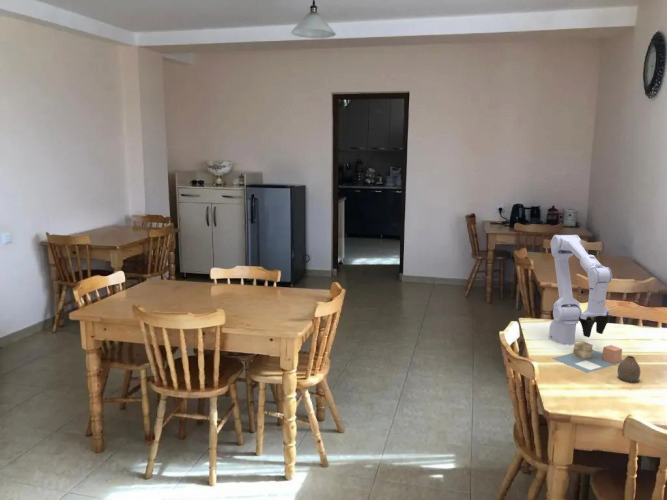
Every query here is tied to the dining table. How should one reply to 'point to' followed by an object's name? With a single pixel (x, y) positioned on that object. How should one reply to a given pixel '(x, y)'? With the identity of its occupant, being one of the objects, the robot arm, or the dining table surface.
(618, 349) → the terracotta block
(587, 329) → the robot arm
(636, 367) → the vase
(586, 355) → the maple block
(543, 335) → the dining table surface
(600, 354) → the build board
